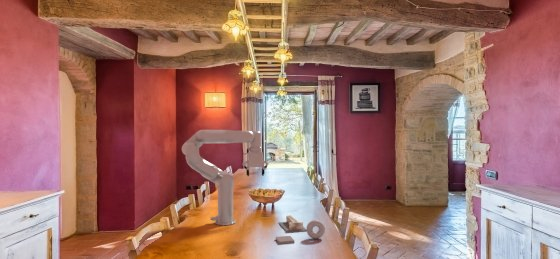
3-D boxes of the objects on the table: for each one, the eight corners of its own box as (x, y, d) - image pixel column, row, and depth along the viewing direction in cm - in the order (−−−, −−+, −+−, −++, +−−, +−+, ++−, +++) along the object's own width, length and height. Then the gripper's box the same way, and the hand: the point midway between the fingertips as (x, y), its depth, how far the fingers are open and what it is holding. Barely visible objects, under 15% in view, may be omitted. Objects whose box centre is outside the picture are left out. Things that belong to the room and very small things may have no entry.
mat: (287, 232, 190) (287, 231, 190) (278, 223, 209) (278, 222, 209) (307, 231, 193) (307, 230, 193) (297, 222, 212) (297, 221, 212)
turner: (289, 230, 192) (289, 223, 193) (282, 222, 209) (282, 215, 209) (303, 229, 194) (303, 222, 194) (294, 221, 211) (294, 215, 211)
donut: (324, 237, 181) (324, 219, 181) (325, 239, 177) (325, 220, 178) (306, 237, 181) (306, 219, 181) (306, 239, 177) (306, 220, 177)
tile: (275, 240, 178) (279, 245, 170) (275, 237, 178) (279, 241, 170) (290, 238, 180) (294, 243, 172) (290, 235, 180) (294, 240, 172)
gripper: (243, 150, 215) (243, 177, 215) (269, 149, 219) (269, 176, 219) (241, 149, 222) (241, 175, 222) (267, 149, 227) (267, 174, 226)
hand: (255, 175), depth 221 cm, fingers open, 9 cm apart
